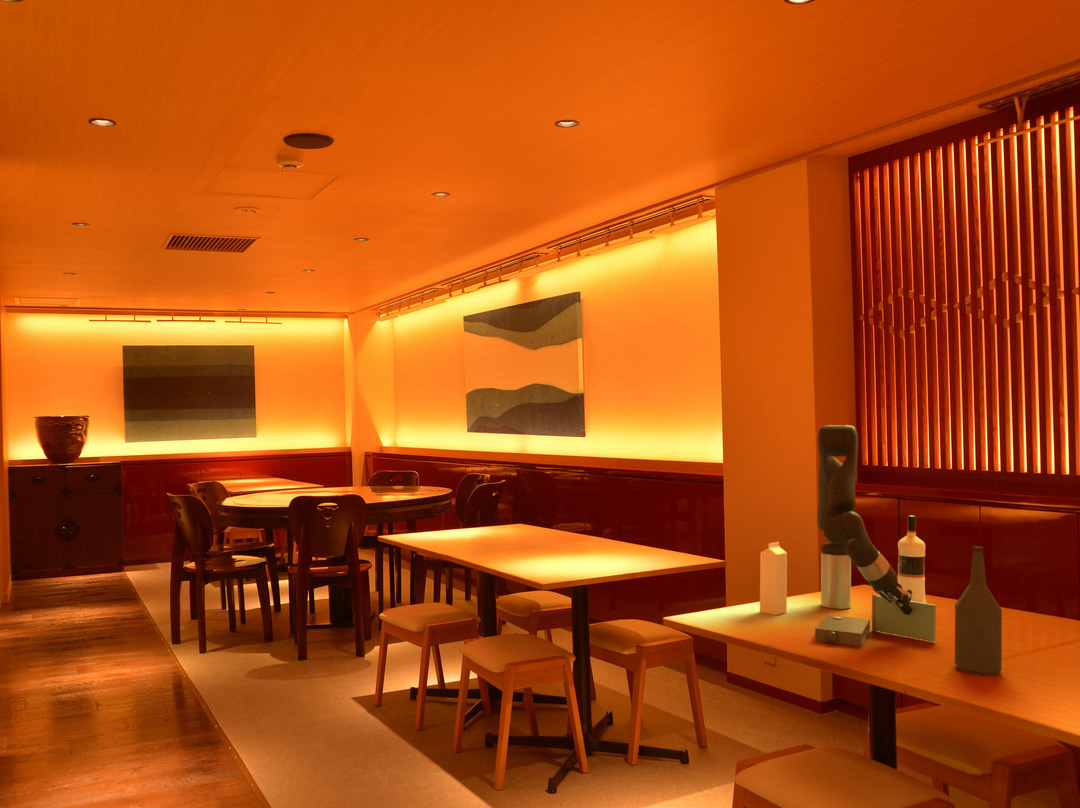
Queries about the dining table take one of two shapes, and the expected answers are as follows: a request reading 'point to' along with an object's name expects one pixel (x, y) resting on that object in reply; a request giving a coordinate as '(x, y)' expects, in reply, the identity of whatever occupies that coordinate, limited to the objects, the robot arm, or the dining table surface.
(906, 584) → the vodka
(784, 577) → the milk
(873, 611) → the door
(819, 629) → the box with round knob
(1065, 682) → the dining table surface
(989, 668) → the bottle
